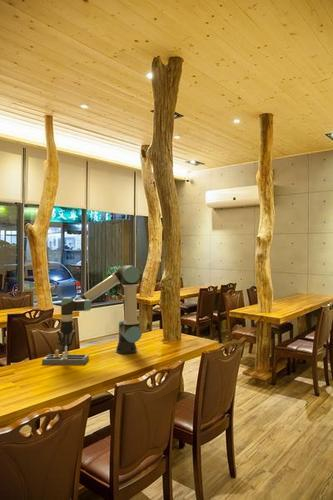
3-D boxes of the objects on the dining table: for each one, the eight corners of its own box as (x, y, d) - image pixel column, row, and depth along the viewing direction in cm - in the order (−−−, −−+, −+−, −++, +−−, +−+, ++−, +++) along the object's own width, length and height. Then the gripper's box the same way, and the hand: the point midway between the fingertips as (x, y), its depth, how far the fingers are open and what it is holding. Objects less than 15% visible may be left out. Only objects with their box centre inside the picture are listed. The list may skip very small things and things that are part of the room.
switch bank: (88, 359, 246) (88, 354, 246) (84, 364, 234) (84, 359, 234) (48, 358, 246) (48, 354, 246) (42, 364, 234) (42, 359, 234)
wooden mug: (63, 357, 250) (63, 331, 251) (52, 353, 259) (52, 328, 259) (73, 354, 257) (74, 329, 257) (63, 351, 266) (63, 327, 266)
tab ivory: (67, 359, 239) (67, 351, 239) (66, 360, 236) (66, 353, 236) (61, 359, 239) (61, 351, 239) (60, 360, 236) (60, 353, 236)
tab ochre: (60, 357, 244) (60, 349, 245) (59, 358, 241) (59, 350, 241) (54, 357, 244) (54, 349, 245) (53, 358, 241) (53, 350, 241)
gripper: (77, 319, 241) (77, 354, 241) (58, 319, 241) (58, 354, 241) (75, 321, 234) (74, 357, 234) (55, 321, 234) (54, 357, 234)
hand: (66, 355), depth 237 cm, fingers closed
